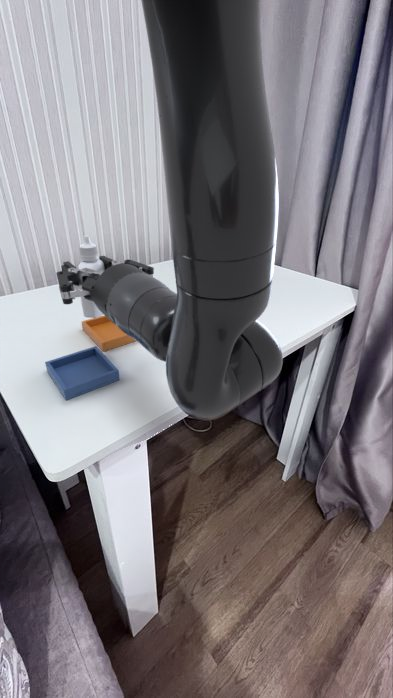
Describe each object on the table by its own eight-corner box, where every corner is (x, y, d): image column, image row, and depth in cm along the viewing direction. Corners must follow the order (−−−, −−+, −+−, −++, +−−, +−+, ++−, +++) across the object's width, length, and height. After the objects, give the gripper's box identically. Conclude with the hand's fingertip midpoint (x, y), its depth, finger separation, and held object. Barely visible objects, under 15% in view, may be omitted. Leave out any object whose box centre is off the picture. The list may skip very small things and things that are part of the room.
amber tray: (103, 351, 63) (102, 343, 62) (82, 329, 70) (81, 321, 69) (149, 336, 69) (149, 328, 68) (126, 317, 75) (125, 309, 74)
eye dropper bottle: (74, 313, 53) (60, 236, 47) (101, 302, 57) (92, 230, 51) (91, 321, 51) (79, 242, 45) (119, 309, 55) (111, 235, 48)
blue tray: (65, 400, 51) (63, 390, 50) (47, 371, 57) (44, 362, 56) (119, 379, 56) (118, 370, 55) (97, 354, 62) (96, 345, 61)
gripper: (184, 263, 43) (123, 234, 54) (74, 286, 35) (30, 247, 46) (183, 315, 47) (127, 279, 58) (84, 346, 39) (42, 296, 50)
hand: (84, 265), depth 52 cm, fingers closed on eye dropper bottle, 5 cm apart
